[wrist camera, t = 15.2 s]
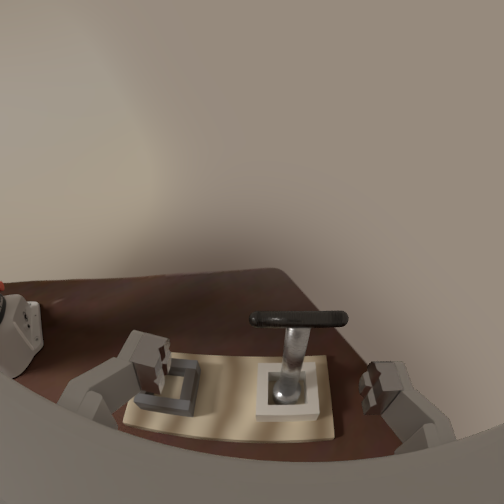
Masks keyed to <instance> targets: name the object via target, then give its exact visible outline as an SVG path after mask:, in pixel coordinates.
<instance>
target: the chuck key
mask: <svg viewBox="0 0 504 504" xmlns="http://www.w3.org/2000/svg"><path fill="white" fill-rule="evenodd" d="M347 322H348V315H347V313H345V312H344V311H255V312H253V313H251V315H250V316H249V323H250V324H251V326H253V327H255V328H286V333H285V342H284V350H283V358H282V366H281V374H280V379H279V380H278V381H277V382H276V383H275V384H274V387H273V401H274V402H275V404H276V405H295V404H296V403H297V402H298V400H299V396H300V393H301V386H300V384H299V382H298V381H299V377H300V373H301V369H302V365H303V360H304V356H305V352H306V348H307V343H308V339H309V334H310V329H311V328H327V327H343V326H345V325H346V324H347Z"/></svg>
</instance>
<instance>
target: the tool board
mask: <svg viewBox="0 0 504 504" xmlns="http://www.w3.org/2000/svg"><path fill="white" fill-rule="evenodd" d="M282 358H283V357H243V356H217V355H200V354H186V353H175V352H171V365H170V370H169V372H168V374H167V375H165V376H164V379H165V384H164V386H163V389H162V392H161V395H160V394H155V393H151V392H147V391H143V390H141V391H140V392H139V393H138V394H137V395H135V396H134V397H133V398H132V399H130V400H129V401H128V404H127V408H126V412H125V415H124V419H123V423H124V424H125V425H126V426H130V427H134V428H139V429H143V430H148V431H153V432H158V433H163V434H169V435H175V436H182V437H189V438H196V439H205V440H215V441H227V442H245V443H297V442H314V441H326V440H333V439H334V424H333V413H332V403H331V394H330V384H329V376H328V367H327V360H326V355H322V356H304V360H303V362H315V365H316V375H317V386H318V398H319V411H320V414H319V416H318V418H317V420H314V421H293V422H256V396H257V373H258V363H282ZM276 382H277V381H268V405H276V404H275V402H274V401H273V387H274V384H275V383H276ZM298 382H299V384H300V386H301V393H300V396H299V400H298V402H297V403H296V404H295V405H298V404H305V402H304V384H303V380H302V381H298Z"/></svg>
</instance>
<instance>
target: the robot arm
mask: <svg viewBox="0 0 504 504" xmlns="http://www.w3.org/2000/svg"><path fill="white" fill-rule="evenodd" d="M3 290H4V284H3V283H2V282H1V281H0V291H3ZM42 347H43V336H42V327H41V315H40V305H39V304H38V303H37V302H27V301H26V300H25V299H24V298H23V297H22V296H20V295H16V294H15V295H7V296H2V295H1V294H0V504H504V423H503V424H501V425H498V426H496V427H493V428H491V429H488V430H486V431H483V432H480V433H478V434H475V435H472V436H469V437H466V438H463V439H460V440H456V437H455V434H454V431H453V428H452V425H451V422H450V420H449V418H448V417H447V416H446V415H445V414H444V413H442V412H441V411H440V410H439V409H438V408H437V407H436V406H435V405H433V404H432V403H431V402H430V401H429V400H428V399H427V398H425V397H424V396H423V395H422V394H421V393H420V392H419V391H418V390H414V388H413V386H412V383H411V380H410V378H409V375H408V372H407V369H406V367H405V364H404V363H403V362H402V361H394V362H391V361H390V362H389V361H386V362H384V361H383V362H382V361H380V362H371V363H369V365H368V366H367V369H368V371H367V372H365V373H364V374H363V375H362V376H361V378H360V382H359V393H360V395H361V396H362V397H363V398H364V399H363V401H362V407H363V412H364V415H381V416H382V417H383V419H384V420H385V421H386V422H387V424H388V425H389V426H390V428H391V429H392V430H393V431H394V433H395V434H396V435H397V436H398V438H399V439H400V440H401V441H402V443H403V444H402V445H401V446H400V447H398V448H397V449H396V450H395V451H394V453H395V455H392V456H385V457H378V458H370V459H361V460H350V461H335V462H277V461H262V460H250V459H241V458H233V457H226V456H219V455H213V454H207V453H201V452H196V451H191V450H186V449H182V448H177V447H173V446H169V445H165V444H161V443H158V442H154V441H150V440H147V439H144V438H140V437H137V436H134V435H131V434H128V433H125V432H122V431H119V430H117V429H118V425H117V423H116V421H115V420H114V418H113V416H112V413H113V412H115V411H116V410H117V409H119V408H120V407H121V406H123V405H124V404H125V403H126V402H128V401H129V400H130V399H132V398H133V397H134V396H135V395H137V394H138V393H139V392H140V391H141V390H143V391H147V392H151V393H155V394H160V395H161V392H162V389H163V386H164V384H165V379H164V376H165V375H167V374H168V372H169V370H170V365H171V352H170V351H169V347H170V340H169V339H168V338H164V337H160V336H156V335H152V334H149V333H144V332H140V331H136V330H133V331H132V332H131V333H130V335H129V337H128V339H127V340H126V342H125V344H124V346H123V348H122V349H121V351H120V353H119V355H118V357H117V358H115V357H113V358H111V359H109V360H107V361H106V362H104V363H102V364H100V365H98V366H96V367H95V368H93V369H91V370H89V371H87V372H85V373H84V374H82V375H80V376H78V377H76V378H74V379H72V380H70V381H69V383H68V385H67V387H66V388H65V390H64V392H63V394H62V395H61V397H60V399H59V401H58V402H57V404H55V403H53V402H51V401H49V400H47V399H46V398H44V397H42V396H40V395H38V394H36V393H35V392H33V391H31V390H29V389H28V388H26V387H24V386H23V385H21V384H19V383H18V382H16V381H14V380H13V379H12V378H14V377H16V376H18V375H20V374H21V373H22V372H23V371H24V370H25V369H26V368H27V367H28V365H29V364H30V362H31V360H32V358H33V357H34V355H35V354H36V353H37V352H39V351H40V350H41V348H42Z"/></svg>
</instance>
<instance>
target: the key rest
mask: <svg viewBox="0 0 504 504" xmlns="http://www.w3.org/2000/svg"><path fill="white" fill-rule="evenodd" d="M281 366H282V363H258V373H257V396H256V422H293V421H314V420H317V418H318V416H319V414H320V411H319V398H318V386H317V375H316V365H315V362H303V365H302V369H301V373H300V377H299V381H302V380H303V384H304V402H305V404H298V405H268V381H278V380H279V379H280V374H281Z"/></svg>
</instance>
